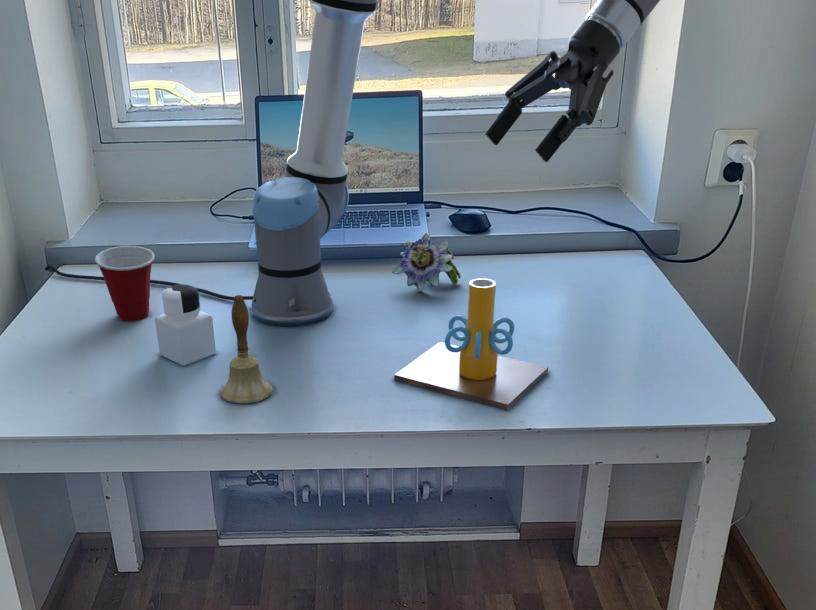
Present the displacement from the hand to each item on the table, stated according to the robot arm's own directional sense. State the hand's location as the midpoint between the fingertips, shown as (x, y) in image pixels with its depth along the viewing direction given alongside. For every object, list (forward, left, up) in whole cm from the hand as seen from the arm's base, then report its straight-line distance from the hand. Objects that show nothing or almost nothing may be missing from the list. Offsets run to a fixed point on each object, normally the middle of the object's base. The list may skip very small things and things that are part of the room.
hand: (514, 147), depth 145 cm
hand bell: (-25, -41, -32) cm, 58 cm away
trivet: (+3, -18, -32) cm, 37 cm away
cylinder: (+4, -18, -31) cm, 36 cm away
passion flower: (-24, +15, -32) cm, 43 cm away
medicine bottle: (-43, -35, -32) cm, 64 cm away
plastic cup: (-64, -27, -32) cm, 76 cm away
